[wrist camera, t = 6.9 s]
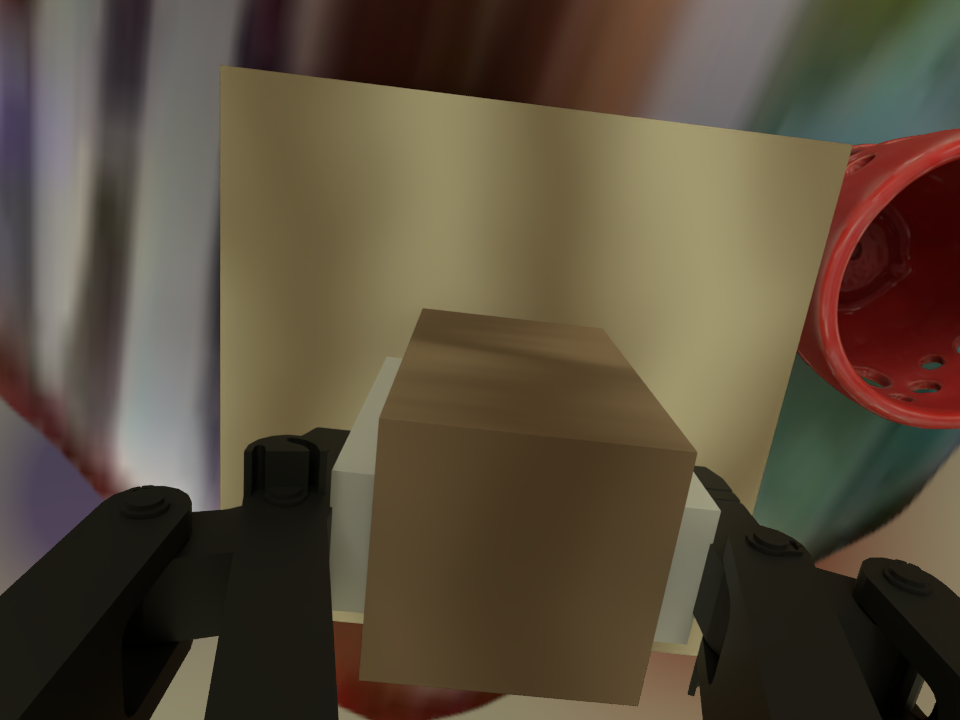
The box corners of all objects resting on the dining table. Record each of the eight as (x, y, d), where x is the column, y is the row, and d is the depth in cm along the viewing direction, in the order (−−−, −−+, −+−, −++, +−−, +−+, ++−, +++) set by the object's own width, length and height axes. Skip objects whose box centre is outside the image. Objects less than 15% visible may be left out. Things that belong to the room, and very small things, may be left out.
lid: (232, 590, 21) (64, 878, 13) (234, 70, 17) (-25, -32, 8) (703, 635, 22) (849, 942, 13) (831, 145, 17) (1185, 125, 9)
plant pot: (748, 125, 36) (875, 104, 24) (974, 152, 36) (1202, 145, 25) (700, 347, 40) (790, 419, 28) (905, 369, 40) (1076, 450, 29)
